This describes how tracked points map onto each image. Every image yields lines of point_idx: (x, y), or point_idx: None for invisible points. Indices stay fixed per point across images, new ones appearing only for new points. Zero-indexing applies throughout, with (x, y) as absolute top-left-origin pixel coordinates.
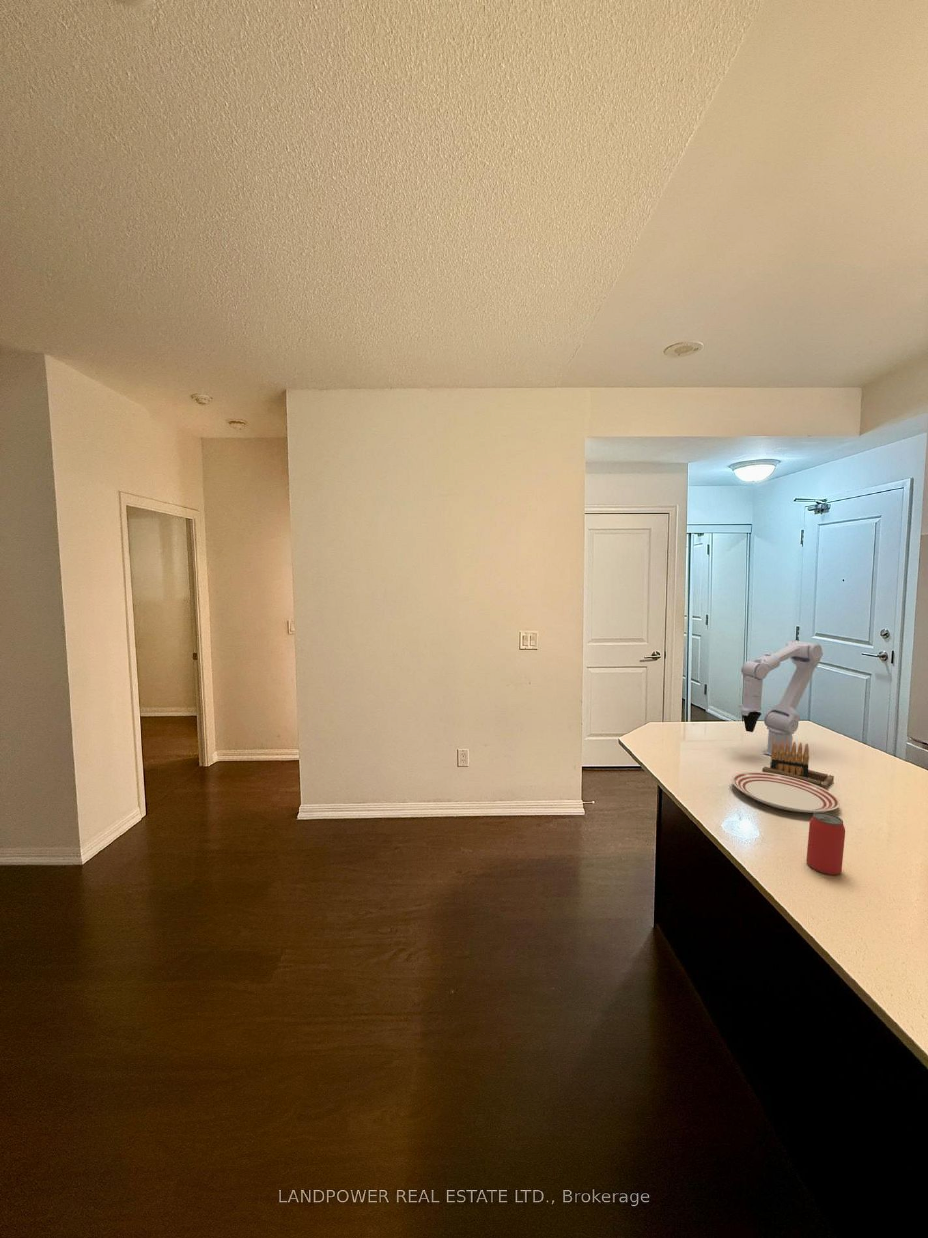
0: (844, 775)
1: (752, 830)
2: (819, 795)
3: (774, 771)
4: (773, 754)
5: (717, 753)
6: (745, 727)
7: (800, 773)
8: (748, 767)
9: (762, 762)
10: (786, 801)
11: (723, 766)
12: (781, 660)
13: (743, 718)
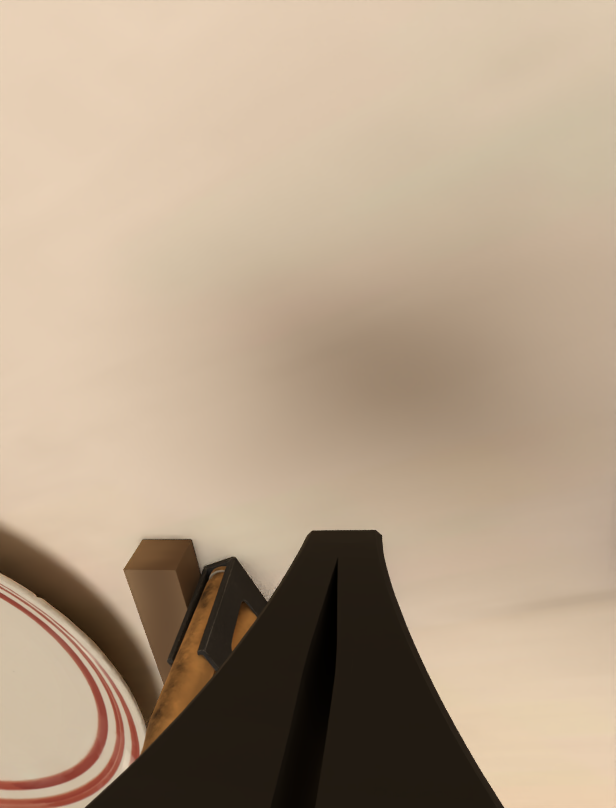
0: (567, 801)
1: None
2: (91, 771)
3: (145, 626)
4: (156, 705)
5: (266, 89)
6: (290, 572)
7: None
8: (177, 445)
9: (393, 474)
10: None
11: (5, 318)
12: None
13: (129, 772)
